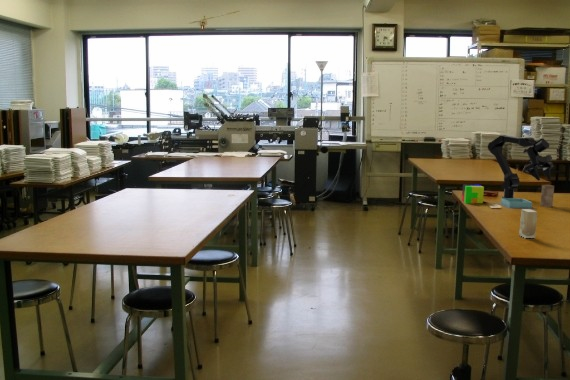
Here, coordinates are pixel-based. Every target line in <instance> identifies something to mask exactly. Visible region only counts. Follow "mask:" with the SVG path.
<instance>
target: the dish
mask: <svg viewBox="0 0 570 380" xmlns="http://www.w3.org/2000/svg"><path fill="white" fill-rule="evenodd" d="M500 200H501V201H500V203H501V204H503V205H505V206H507V207H509V208H532V207H533V202H532V201H530V200H527V199H525V198H516V197H514V198H502V197H501V198H500Z"/></svg>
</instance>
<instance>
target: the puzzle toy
mask: <svg viewBox="0 0 570 380" xmlns="http://www.w3.org/2000/svg"><path fill="white" fill-rule="evenodd" d="M461 191H462V193H461V195H462V196H461V201H462V202H463V203H464V204H473V205H474V204H484V193H485V192H484V191H485V186H482V185H481V184H465V183H464V184H462V190H461Z"/></svg>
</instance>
